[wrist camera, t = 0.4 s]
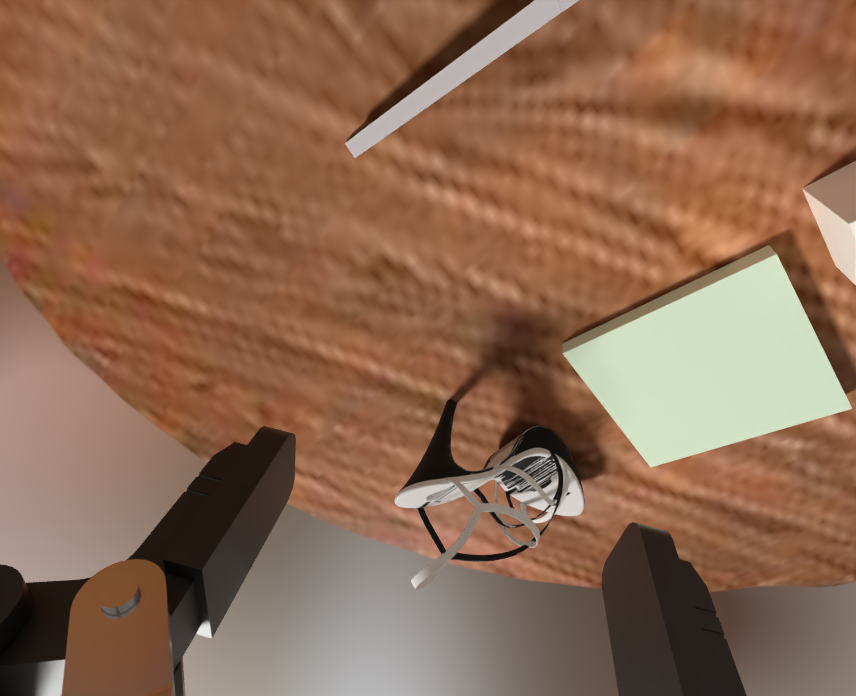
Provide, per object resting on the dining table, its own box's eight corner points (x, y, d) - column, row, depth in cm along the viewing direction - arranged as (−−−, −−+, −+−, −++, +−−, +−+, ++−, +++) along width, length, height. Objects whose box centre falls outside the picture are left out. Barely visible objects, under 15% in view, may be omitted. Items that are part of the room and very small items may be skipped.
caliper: (724, -143, 18) (786, -196, 13) (732, -111, 19) (794, -151, 14) (347, 141, 28) (303, 170, 23) (358, 157, 28) (317, 190, 24)
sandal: (596, 484, 41) (613, 679, 29) (503, 503, 45) (486, 680, 33) (514, 358, 35) (495, 542, 23) (417, 394, 39) (358, 564, 27)
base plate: (768, 244, 26) (776, 253, 25) (842, 395, 31) (852, 408, 30) (562, 343, 33) (562, 353, 32) (648, 455, 37) (650, 467, 36)
